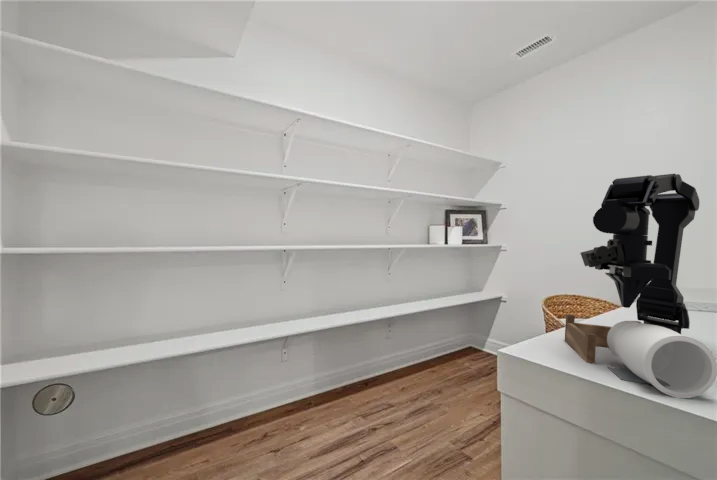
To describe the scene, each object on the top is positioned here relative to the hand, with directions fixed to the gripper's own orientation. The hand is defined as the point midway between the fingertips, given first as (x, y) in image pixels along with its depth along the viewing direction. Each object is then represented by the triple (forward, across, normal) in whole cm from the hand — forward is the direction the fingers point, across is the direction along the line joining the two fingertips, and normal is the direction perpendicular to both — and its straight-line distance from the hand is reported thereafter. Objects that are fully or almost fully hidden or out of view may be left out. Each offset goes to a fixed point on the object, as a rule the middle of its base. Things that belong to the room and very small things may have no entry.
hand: (625, 307), depth 69 cm
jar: (+7, 0, 0) cm, 7 cm away
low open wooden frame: (+12, -3, 0) cm, 12 cm away
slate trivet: (+12, +8, 0) cm, 14 cm away
